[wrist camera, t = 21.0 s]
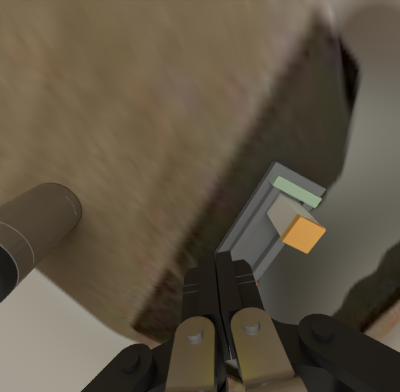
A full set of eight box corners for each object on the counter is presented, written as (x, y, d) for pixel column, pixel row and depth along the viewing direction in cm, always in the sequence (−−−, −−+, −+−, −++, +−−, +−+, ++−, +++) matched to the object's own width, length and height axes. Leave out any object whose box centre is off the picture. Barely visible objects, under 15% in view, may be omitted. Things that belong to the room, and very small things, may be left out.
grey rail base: (248, 285, 52) (252, 298, 49) (205, 266, 50) (205, 278, 47) (321, 186, 45) (331, 193, 41) (273, 160, 43) (280, 165, 40)
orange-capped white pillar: (284, 221, 45) (307, 253, 36) (264, 211, 44) (282, 241, 35) (298, 201, 44) (326, 229, 34) (278, 190, 43) (300, 216, 33)
